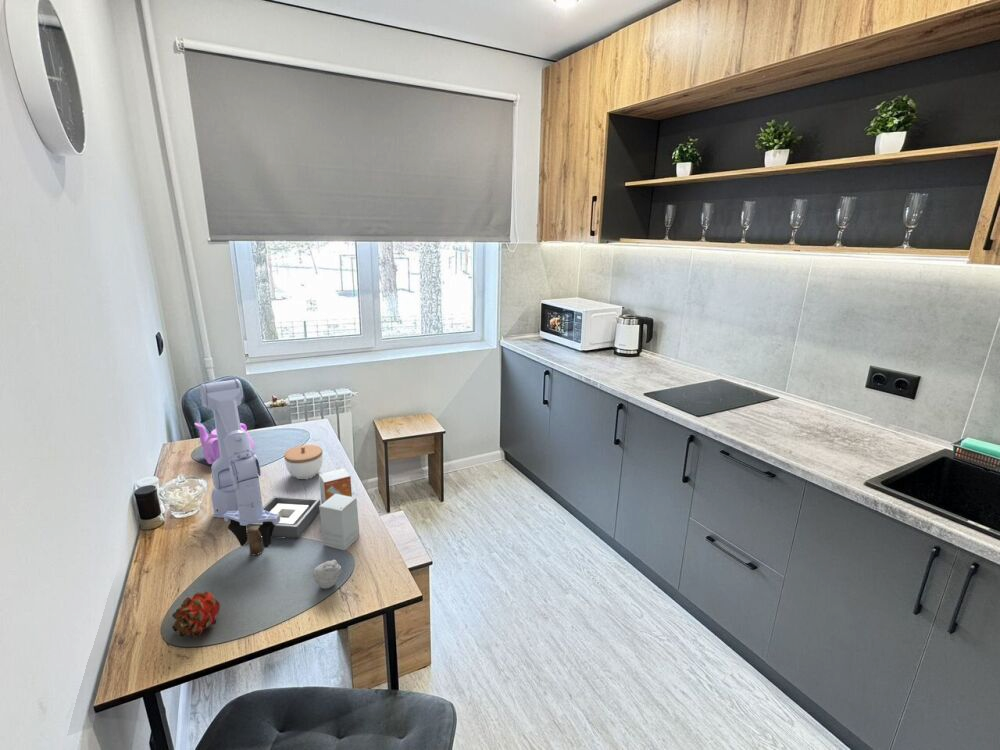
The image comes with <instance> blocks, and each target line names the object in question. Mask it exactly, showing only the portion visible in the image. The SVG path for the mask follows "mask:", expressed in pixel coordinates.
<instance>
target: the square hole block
mask: <svg viewBox="0 0 1000 750" xmlns="http://www.w3.org/2000/svg"><path fill="white" fill-rule="evenodd" d="M320 505H321V498H309V497H295V496H294V497H293V496H280V495H279V496H276V495H273V497H272V498H271V499H270V500H269V501H268V502H267V503H266V504H264V506H263V510H265V511H268V512H271V513H274V514H280V521H279V523H278V524H277V525H275V526H274V529H273V532H272V537H271V538H276V537H285V538H284V539H291V538H295V540H299V539H300V538H301V537H302V535H303V534H304V533H305V531H306V530H307V529H308V527H309V526H311V524H312V522H313V521H315V519H316V518H317V517H318V515H320V509H319V506H320ZM262 524H263V522H258V523H250V524H248V525H247V526H246V527H247V529H248V528H250V527H252V526H261V525H262ZM261 536H262V535H261ZM299 537H300V538H299Z"/></svg>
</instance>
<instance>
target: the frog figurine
mask: <svg viewBox="0 0 1000 750" xmlns="http://www.w3.org/2000/svg"><path fill="white" fill-rule="evenodd" d="M341 570H342V566H341V565H340V564H338V562H337V560H336V559H331V560H327V561H325V562H323V563H321V564H318V565H317V566H316V567H315V568H314V569H313V577H312V578H313V581H314V582H315V583H316V584H317V586H318V587H320V588H321V589H330V588H331V587H333V586H335V584H336V583H337V580H338V577H339V575H340V574H341V573H342V572H341Z"/></svg>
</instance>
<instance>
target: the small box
mask: <svg viewBox="0 0 1000 750" xmlns="http://www.w3.org/2000/svg"><path fill="white" fill-rule="evenodd" d="M318 480H319V481H318V482H319V490H320V491H319V492H320V501H321V504H323V503H324V502H325V501H327V500H328V499H329V498H330V497H332V496H333V495H334V494H340V495H345V496H350V497H353V496H352V495H353V493H352V492H353V490H352V477H351V475H350V473H349V472H348V470H347V468H346V467H345V468H340V469H339V468H338V469H335V470H330V471H327V472H324V473H323V472H322V473H319V474H318Z"/></svg>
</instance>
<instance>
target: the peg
mask: <svg viewBox="0 0 1000 750" xmlns="http://www.w3.org/2000/svg"><path fill="white" fill-rule="evenodd" d="M259 527H260V526H252V527H250V528H248V529H247V537H248V540H247V542H248V548H249V554H250V553H251V554H258V553H260V552H262V551H263V552H264V545H263V539H262V537H261V533H260V531H259V530H258V528H259ZM263 552H262V553H263ZM251 554H250V555H251ZM260 554H261V553H260ZM258 555H259V554H258Z"/></svg>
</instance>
